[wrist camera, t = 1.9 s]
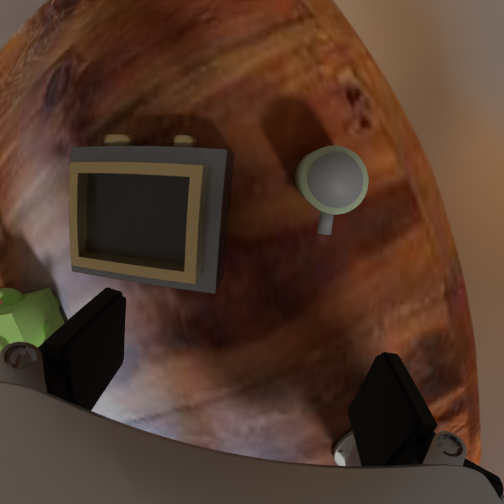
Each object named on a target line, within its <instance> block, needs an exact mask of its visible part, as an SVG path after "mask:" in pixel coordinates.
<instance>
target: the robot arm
mask: <svg viewBox="0 0 504 504" xmlns="http://www.w3.org/2000/svg"><path fill="white" fill-rule="evenodd" d="M125 312H126V298H125V297H123V296H122V292H120V291H117V290H114V289H111V288H105V289H104V290H103V291H102V292H100V293H99V294H98V295H97V296H96V297H94V298H93V299H92V300H91V301H90V302H89V303H87V304H86V305H85V306H84V307H83V308H82V309H80V310H79V311H78V312H77V313H76V314H75V315H73V316H72V317H71V318H70V319H69V320H68V321H67V322H65V323H64V324H63V325H62V326H61V327H60V328H59V329H57V330H56V331H55V332H54V333H53V334H52V335H51V336H50V337H49V338H47V339H46V340H45V341H44V342H43V343H42V344H41V345H40V346H39V347H38V348H37V347H36V346H35V345H33V344H31V343H27V342H14V343H11V344H8V345H7V346H5V347H4V348H3V349H2V351H1V352H0V504H504V495H502V494H503V485H502V483H501V480H500V478H499V477H498V476H496V475H494V474H493V473H491V472H489V471H487V470H485V469H483V468H481V467H480V466H478V465H476V464H474V463H472V462H471V461H469V460H467V459H465V456H466V446H465V444H464V442H463V441H462V439H460V438H459V437H458V436H457V435H455V434H454V433H451V432H448V431H440V432H438V433H436V434H435V432H434V429H435V428H436V427H437V423H436V421H435V419H434V418H433V416H432V414H431V412H430V410H429V408H428V406H427V405H426V403H425V401H424V399H423V397H422V396H421V394H420V392H419V390H418V388H417V387H416V385H415V383H414V381H413V380H412V378H411V376H410V374H409V373H408V371H407V369H406V367H405V366H404V364H403V362H402V361H401V359H400V357H399V356H398V355H397V354H393V353H387V352H383V353H382V354H381V355H378V356H377V357H376V358H375V360H374V362H373V364H372V366H371V368H370V370H369V372H368V374H367V376H366V378H365V380H364V382H363V383H362V385H361V387H360V389H359V391H358V393H357V394H356V396H355V398H354V400H353V401H352V403H351V405H350V407H349V411H348V414H349V419H350V423H351V426H352V431H350V432H349V433H347V434H346V435H345V436H344V437H343V438H341V439H340V441H339V442H338V443H337V444H336V446H335V448H334V452H333V453H334V459H335V462H336V463H337V465H339V466H335V465H317V464H305V463H294V462H285V461H277V460H269V459H262V458H256V457H249V456H244V455H238V454H233V453H228V452H223V451H218V450H213V449H209V448H205V447H200V446H196V445H192V444H188V443H184V442H181V441H177V440H173V439H170V438H166V437H163V436H160V435H156V434H153V433H150V432H147V431H144V430H141V429H138V428H135V427H132V426H129V425H126V424H124V423H121V422H118V421H115V420H113V419H110V418H107V417H105V416H102V415H100V414H97V413H95V412H92V411H91V410H92V409H93V407H94V405H95V404H96V402H97V401H98V399H99V398H100V396H101V395H102V393H103V392H104V390H105V389H106V387H107V386H108V384H109V383H110V381H111V380H112V378H113V377H114V375H115V374H116V372H117V371H118V369H119V368H120V366H121V365H122V363H123V359H124V335H125Z"/></svg>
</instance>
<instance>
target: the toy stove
mask: <svg viewBox="0 0 504 504" xmlns="http://www.w3.org/2000/svg"><path fill="white" fill-rule="evenodd" d="M197 139H198V137H197V136H191V135H173V138H172V147H168V146H137V136H136V135H127V134H109V135H103V146H94V147H71V161H70V181H69V230H70V252H71V265H72V271H74V272H79V273H85V274H90V275H96V276H102V277H108V278H113V279H119V280H126V281H132V282H138V283H144V284H151V285H157V286H164V287H171V288H178V289H185V290H192V291H199V292H207V293H214V294H215V293H216V291H217V289H218V286H219V284H220V282H221V280H222V277H223V272H224V259H225V247H226V235H227V223H228V212H229V200H230V189H231V179H232V168H233V158H234V152H231V151H229V150H225V149H211V148H197Z"/></svg>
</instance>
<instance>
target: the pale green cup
mask: <svg viewBox="0 0 504 504" xmlns="http://www.w3.org/2000/svg"><path fill="white" fill-rule="evenodd" d="M295 184H296V187H297V189H298V191H299V192H300V194H301V195H302V196H303V197H304V198H305V199H306V200H307V201H309V202H310V203H311V204H312V205H313V206H314V207H315V208H317V209H318V210H320V217H319V224H318V231H317V233H319V234H324V235H331V230H332V224H333V217H334V214H343V213H346V212H349V211H351V210H353V209H354V208H356V207H357V206H358V205H359V204H360V203H361V202H362V200H363V199H364V197H365V195H366V192H367V189H368V173H367V170H366V167H365V165H364V163H363V161H362V160H361V159H360V157H359V156H358V155H357V154H356V153H354V152H353V151H351V150H349V149H347V148H345V147H341V146H327V147H323V148H321V149H318V150H316V151H313V152H311V153H309V154H307V155H306V156H304V157H303V158H302V159H301V160H300V162H299V163H298V165H297V167H296V170H295Z"/></svg>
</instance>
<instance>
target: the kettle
mask: <svg viewBox="0 0 504 504" xmlns="http://www.w3.org/2000/svg"><path fill="white" fill-rule="evenodd" d="M0 300H2V301H4V303H2V304H1V305H0V352H1V351H2V349H3V348H4V347H5V346H7V345H8V344H11V343H14V342H27V343H31V344H33V345H35V346H36V347H37V348H38V347H39V346H40V345H41V344H42V343H43V342H44V341H45V340H46V339H47V338H49V337H50V336H51V335H52V334H53V333H54V332H55V331H56V330H57V329H59V328H60V327H61V326H62V325H63V324H64V323H65V322H64V320H63V318H62V315H61V313H60V311H59V309H60V301H59V300H58V298H57V297H56V296H54V295H53V293H52V291H51V288H50V287H49V288H45V289H41V290H37V291H33V292H29V293H25V294H21V293H20V292H19V291H18V290H16V289H13V288H0Z"/></svg>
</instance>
